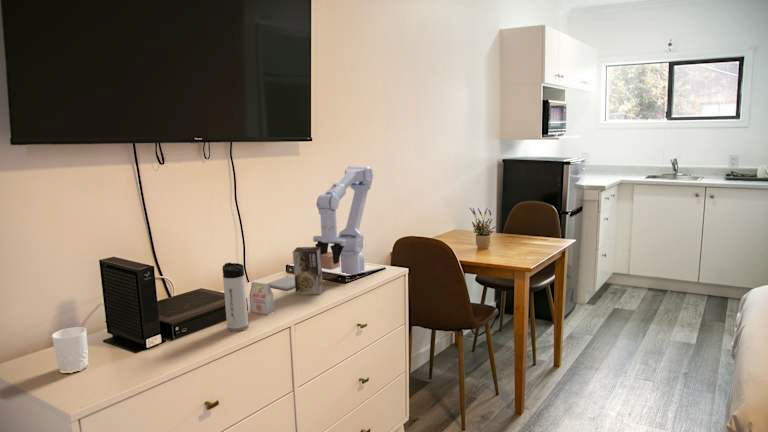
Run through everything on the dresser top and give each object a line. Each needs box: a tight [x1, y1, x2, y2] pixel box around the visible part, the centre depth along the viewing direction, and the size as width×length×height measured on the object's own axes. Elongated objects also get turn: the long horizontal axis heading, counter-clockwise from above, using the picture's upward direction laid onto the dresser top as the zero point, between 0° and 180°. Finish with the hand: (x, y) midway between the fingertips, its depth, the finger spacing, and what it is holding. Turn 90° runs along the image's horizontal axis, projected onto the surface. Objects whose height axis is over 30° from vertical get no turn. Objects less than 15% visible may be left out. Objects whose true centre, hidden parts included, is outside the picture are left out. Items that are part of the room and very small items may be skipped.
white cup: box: [51, 326, 89, 371], centre depth 149 cm, size 8×8×10 cm
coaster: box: [266, 276, 295, 292], centre depth 219 cm, size 12×12×1 cm
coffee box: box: [292, 246, 324, 295], centre depth 207 cm, size 9×6×16 cm
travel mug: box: [222, 262, 249, 332], centre depth 174 cm, size 6×7×20 cm
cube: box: [321, 251, 341, 271], centre depth 214 cm, size 5×5×5 cm
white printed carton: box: [249, 281, 275, 316], centre depth 188 cm, size 4×7×10 cm, turn 65°
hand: (330, 262), depth 214 cm, fingers closed on cube, 5 cm apart
